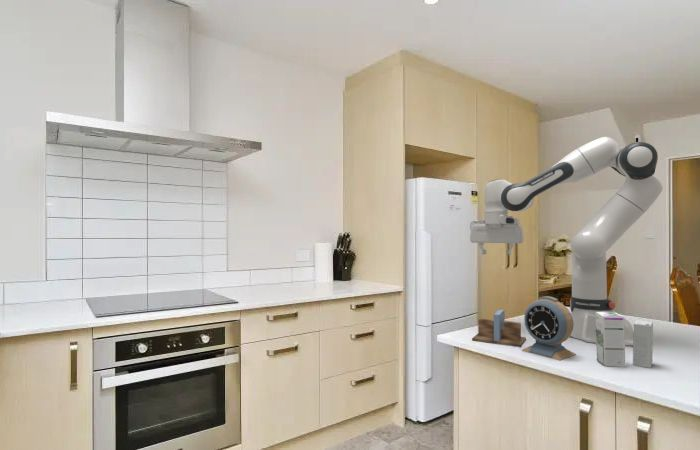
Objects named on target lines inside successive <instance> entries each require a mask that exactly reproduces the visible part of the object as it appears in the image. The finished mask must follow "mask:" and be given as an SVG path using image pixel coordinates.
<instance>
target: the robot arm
mask: <svg viewBox="0 0 700 450" xmlns="http://www.w3.org/2000/svg"><path fill="white" fill-rule="evenodd" d="M658 159H659V155H658V151H657V149H656V148H655V147H654V146H653V145H652V144H650V143H648V142H644V141H636V142H632V143H629V144H628V145H626V146H621V145H620V144H618V142H617V141H616V140H615V139H613V138H612V137H610V136H602V137H598V138H596V139H594V140H592V141H589V142H587V143H585V144H583V145H581V146H579V147H578V148H576V149H574V150H572V151H571V152H570V153H568V154H567V155H565V156H564V157H563V158H561V159H559V161H558V162H556V163H555V164H554V165H552V166H551V167H549V168H547V170H544V171H543V172H540V173H539V174H538V175H536V176H534V177H531V178H530V179H528V180H526V181H522V182H517V183H512V182H509V181H508V180H506V179H504V178H497V179H493V180H490V181H488V182H487V183H486V185H485V189H484V198H483V199H484V200H483V201H484V205H485V207H484V208H485V209H484V219H483V220H481V219H480V220H478V219H475V220H473V221H471V222H470V224H469V230H470V234H469V235H470V236H469V241H470V242H471V243H475V244H476V243H477V244H478V246H479V248H480V251H481V255H487V249H485V248H484V243H485V244H509V245H508V247H509V249H507V250H506V251H505V252H506V253H505V254H506V256H511V255H512V250H513V248H514V247H515V244H522V243H523V242H524V241H525V240H524V232H523V227H522V226H521V225H520V223H521V220H520V219H519V218H517V217H514V216H509V214H508V213H509V211H511V212H525V211H527V210H529V209H530V208H531V207H532V205H533V204H534V199H535V197H537V196H539V195H540V194H542V193H544V192H546V191H548V190H549V189H552V188H553V187H555V186H557V185H558V186H559V185H561V184H566V183H577V182H580V181H582V180H583V181H584V180H586V179H587V178H589V177H591V176H594V175H595V174H598V172H600V171H603V170H604V169H607V168H611V169H613V170H614V171H615V172H617V173H618V174H620V175H621V176H623V177H625V181H624V182H623V185H622V186H620V188H619V189H618V190H617V191H616V192H615V193H614V194H613V195H612V196H611V197H610V198H609V199H608V200H607V202H605V203H604V205H603V206H602V207H601V208H599V209H598V211H597V212H596V213H595V214H594V215H593V216H592V217H590V219H589V220H588V221H586V223H585V224H584V225H583V226H582V227H581V228H580V229H579V230H578V231H576V233H575V234H574V235H572V236H573V237H572V239H571V240H570V248H571V252H572V253H571V261H572V262H571V296H570V300H569V303H570V304H569V305H570V307H569V308H570V313H571V315H572V318H573V324H574V325H573V330H572V333H571V335H570V337H571V338H575V339H578V340H582V341H583V342H586V343H594V344H596V312H615V313H618V312H617V311H616V310H614V309H615V308H616V303H615V302H614V301H612V300H611V299H609V298H608V289H607V288H608V287H607V286H608V284H607V283H608V281H607V280H608V278H607V277H608V276H607V251H608V250H609V249H611V247H613V245H614V244H615V243H616V242H617V241H618V240H620V238H621V237H622V236H623V235H624V234H625V233H626V232H627V231H628V230H629V229H630V228H631V227H632V226H633V225H634V224H635V223H637V221H638V220H639V219H640V218H641V217H642V216H643V215H644V214H645V213H646V212H647V211H648V210H649V209H650V208H651V206H652V205H653V204H654V203H655V201H656V200H657V199H658V198H659V197H660V195H661V193H662V191H663V185H662V182H661V181H660V180H659V179H658V178H657V177H655V176H654V175H655V173H656V168H657V164H658ZM624 331H625V346H632V347H633V333H634V327H633V325H632V324H631V322H630V321H629V320H628V319H626V318H625V317H624Z"/></svg>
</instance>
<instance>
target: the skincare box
mask: <svg viewBox="0 0 700 450" xmlns="http://www.w3.org/2000/svg"><path fill="white" fill-rule="evenodd" d="M653 334H654V322H653V321H649V320H646V321H645V320H638V319H636V320H635V321H634V323H633V346H632V348H633V349H632V365H633V366H637V367H641V368H648V369H649V368H651V367H652V364H653V351H654V350H653V347H654V345H653V340H654V338H653V336H654V335H653Z"/></svg>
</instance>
